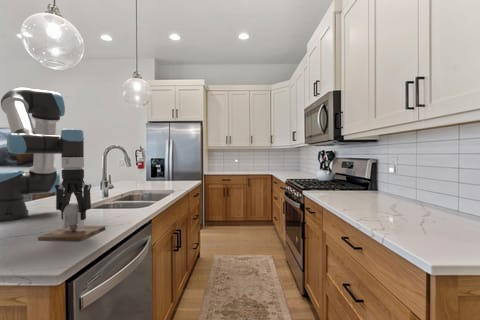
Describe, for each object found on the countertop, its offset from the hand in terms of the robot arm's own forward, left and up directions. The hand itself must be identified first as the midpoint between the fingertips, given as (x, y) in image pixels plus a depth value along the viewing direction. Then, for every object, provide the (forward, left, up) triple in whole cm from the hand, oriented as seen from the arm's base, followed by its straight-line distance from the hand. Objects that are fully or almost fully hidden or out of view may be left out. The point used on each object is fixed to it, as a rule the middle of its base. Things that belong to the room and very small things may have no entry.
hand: (73, 227), depth 107 cm
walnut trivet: (0, 0, -2) cm, 3 cm away
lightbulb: (0, 0, -2) cm, 2 cm away
